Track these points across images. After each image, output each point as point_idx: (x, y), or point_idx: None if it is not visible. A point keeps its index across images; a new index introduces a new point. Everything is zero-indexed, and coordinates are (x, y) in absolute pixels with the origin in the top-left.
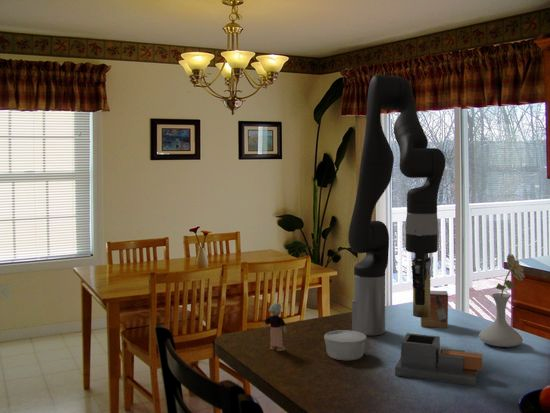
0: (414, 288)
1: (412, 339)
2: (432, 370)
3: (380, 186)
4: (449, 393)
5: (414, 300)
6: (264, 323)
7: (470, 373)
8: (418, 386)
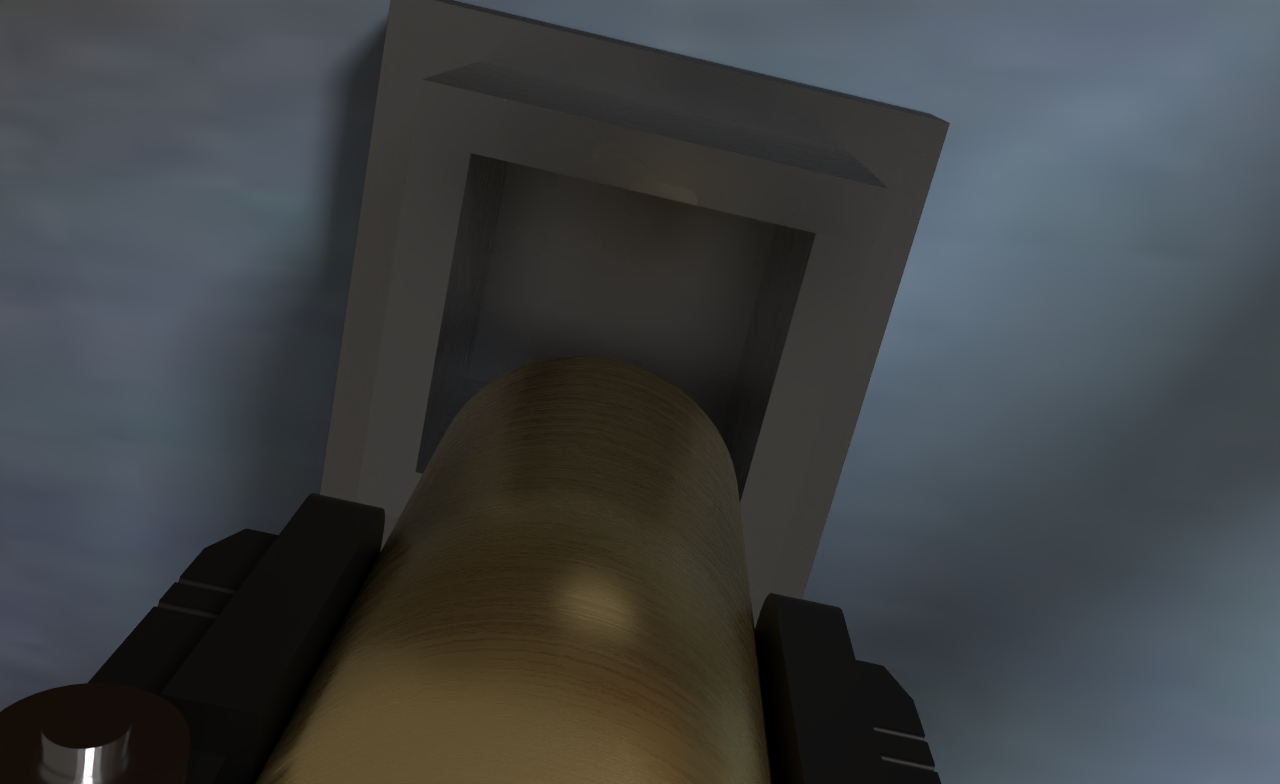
0: (48, 697)
1: (799, 249)
2: (372, 376)
3: None
4: (95, 451)
5: (446, 505)
6: None
7: None
8: (176, 209)
